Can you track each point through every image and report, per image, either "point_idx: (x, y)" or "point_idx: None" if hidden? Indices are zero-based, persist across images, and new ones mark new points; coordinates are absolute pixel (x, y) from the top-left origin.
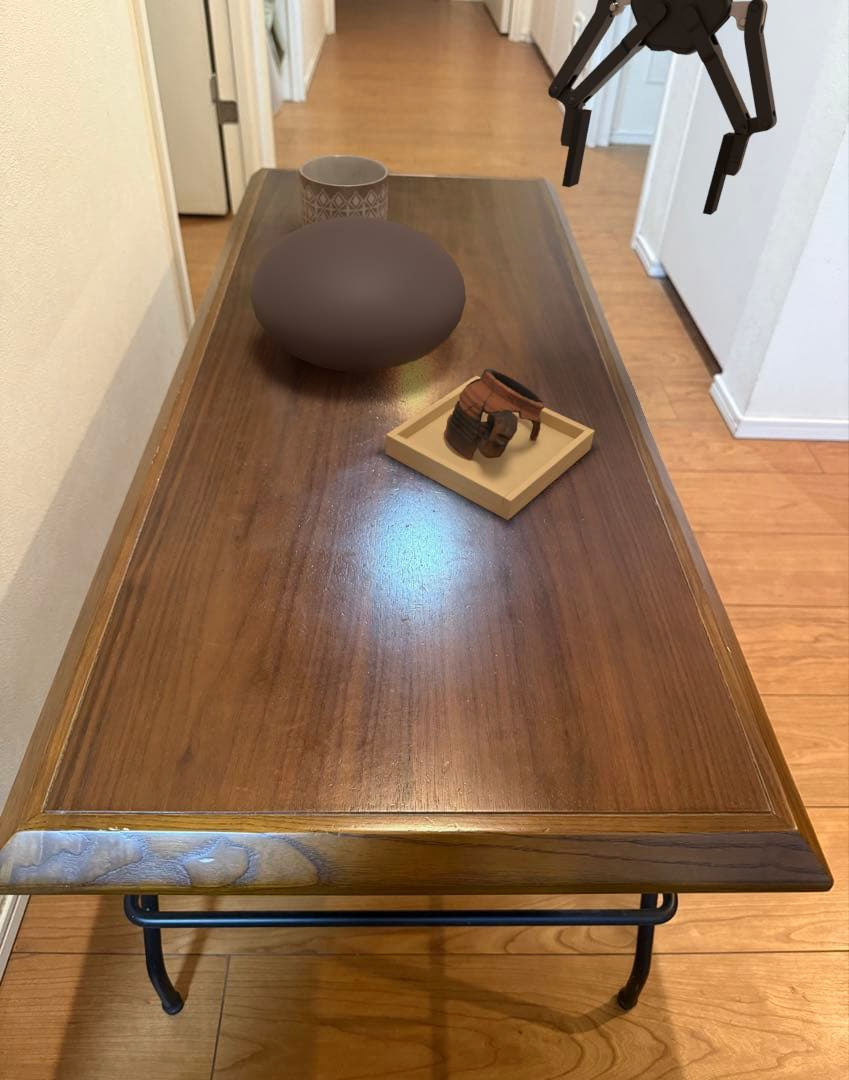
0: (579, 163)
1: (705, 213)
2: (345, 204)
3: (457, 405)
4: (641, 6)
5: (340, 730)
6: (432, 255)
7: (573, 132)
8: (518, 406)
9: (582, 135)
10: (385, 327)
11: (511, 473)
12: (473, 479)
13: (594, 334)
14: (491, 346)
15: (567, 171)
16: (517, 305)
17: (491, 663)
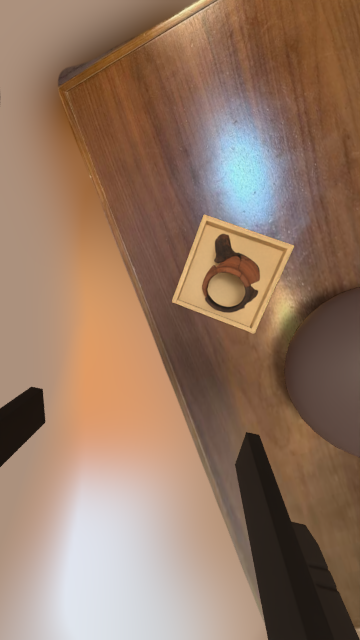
0: (246, 492)
1: (38, 388)
2: None
3: (258, 268)
4: None
5: (243, 36)
6: (349, 399)
7: (300, 560)
8: (217, 267)
9: (269, 563)
10: (347, 301)
11: (210, 253)
12: (229, 224)
13: (192, 423)
14: (252, 388)
15: (262, 457)
16: None
17: (187, 114)
